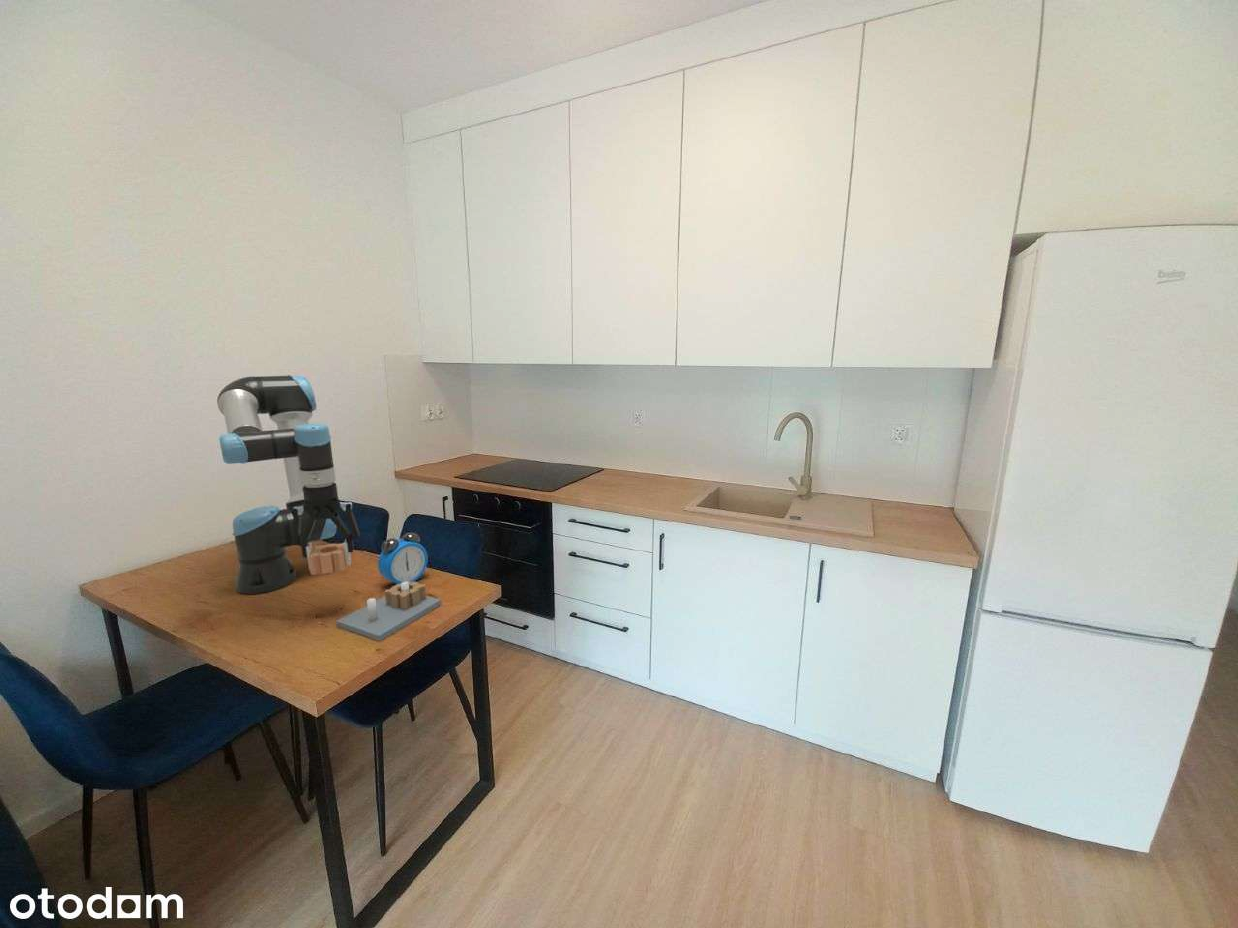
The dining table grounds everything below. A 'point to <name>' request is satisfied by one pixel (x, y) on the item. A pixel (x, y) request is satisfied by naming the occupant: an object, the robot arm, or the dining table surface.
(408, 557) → the alarm clock
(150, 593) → the dining table surface
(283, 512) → the robot arm
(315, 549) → the loose gear
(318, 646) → the dining table surface
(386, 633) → the gear board
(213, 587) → the dining table surface
